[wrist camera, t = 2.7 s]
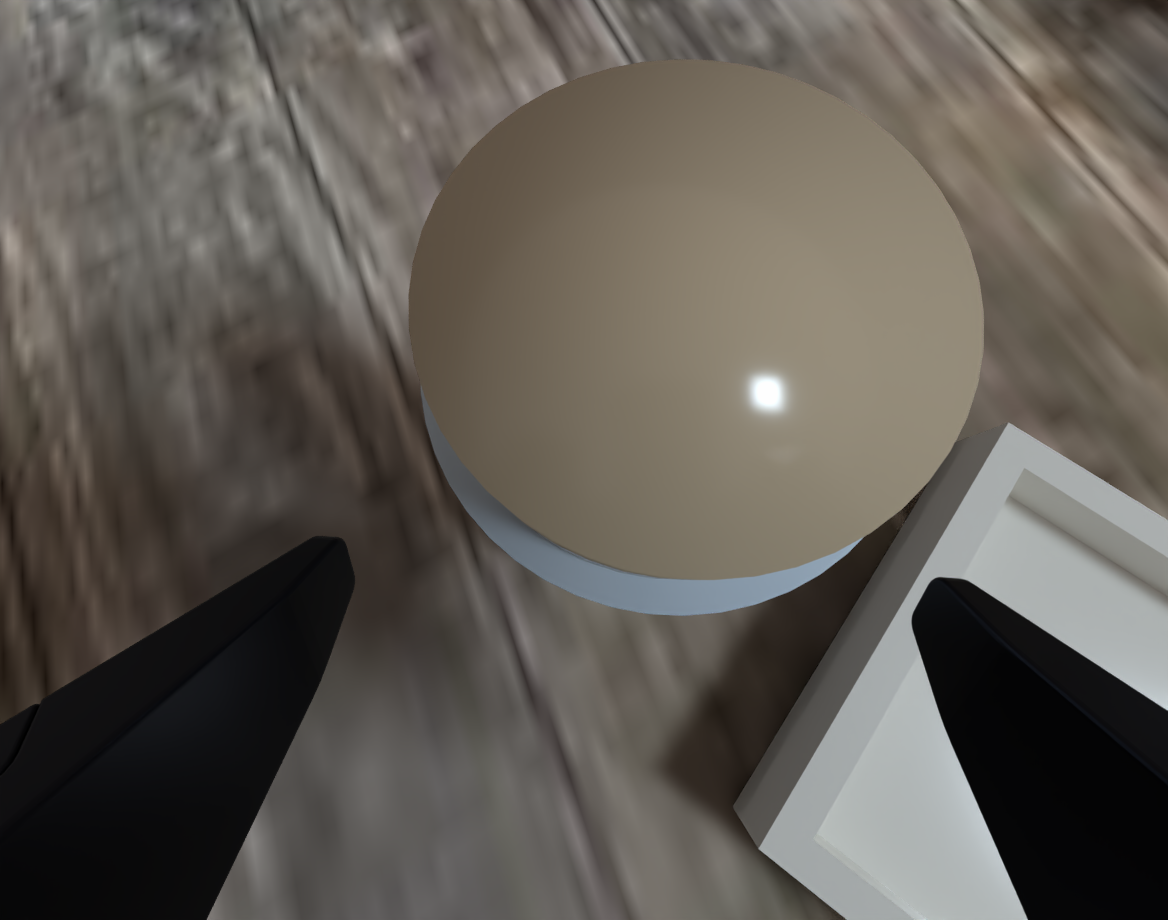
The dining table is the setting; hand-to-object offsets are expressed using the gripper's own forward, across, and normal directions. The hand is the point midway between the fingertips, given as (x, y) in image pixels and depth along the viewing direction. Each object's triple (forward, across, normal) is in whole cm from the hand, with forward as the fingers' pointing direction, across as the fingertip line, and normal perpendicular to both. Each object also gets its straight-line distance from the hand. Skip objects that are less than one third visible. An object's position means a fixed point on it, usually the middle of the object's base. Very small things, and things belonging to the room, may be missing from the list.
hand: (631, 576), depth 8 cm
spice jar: (+8, 0, +5) cm, 10 cm away
